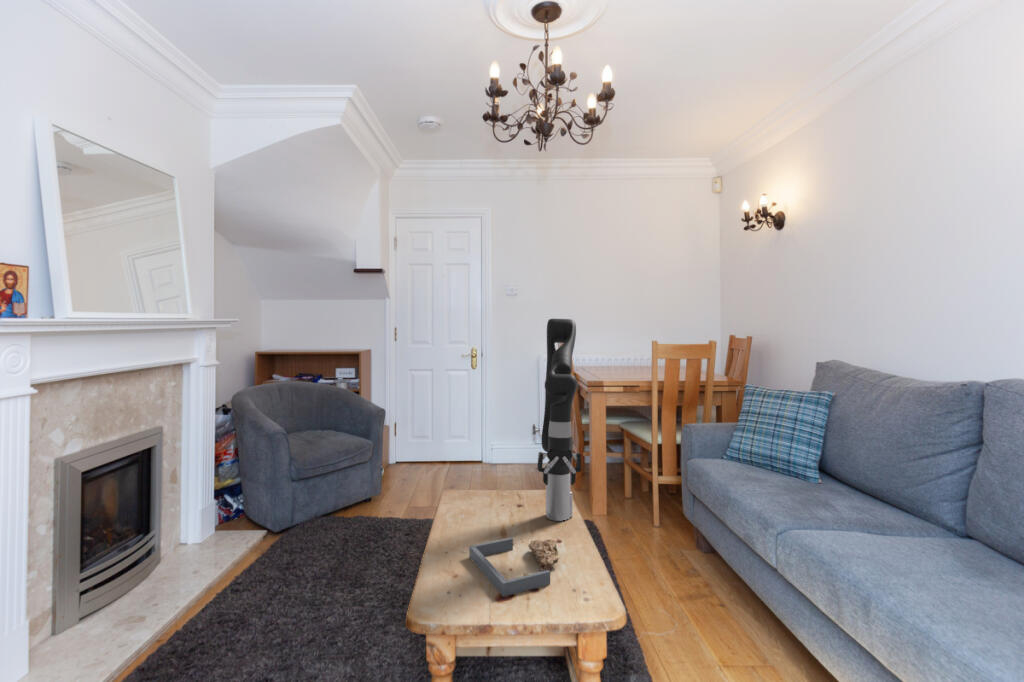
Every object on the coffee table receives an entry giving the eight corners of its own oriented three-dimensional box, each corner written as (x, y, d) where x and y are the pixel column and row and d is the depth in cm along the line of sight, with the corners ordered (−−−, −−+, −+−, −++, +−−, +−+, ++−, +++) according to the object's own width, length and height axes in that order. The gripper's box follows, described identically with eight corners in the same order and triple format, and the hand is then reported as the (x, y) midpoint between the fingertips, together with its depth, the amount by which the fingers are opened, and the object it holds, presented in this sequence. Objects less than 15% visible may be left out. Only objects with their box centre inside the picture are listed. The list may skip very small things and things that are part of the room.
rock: (574, 562, 140) (543, 559, 138) (570, 579, 140) (539, 576, 138) (556, 535, 157) (527, 532, 154) (552, 550, 157) (524, 547, 154)
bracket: (511, 548, 156) (511, 537, 156) (550, 584, 133) (550, 571, 133) (469, 557, 149) (469, 546, 149) (503, 596, 127) (503, 583, 127)
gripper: (578, 433, 162) (577, 481, 162) (536, 432, 161) (535, 481, 161) (583, 437, 155) (583, 487, 154) (540, 436, 153) (539, 487, 153)
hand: (558, 484), depth 157 cm, fingers open, 8 cm apart
